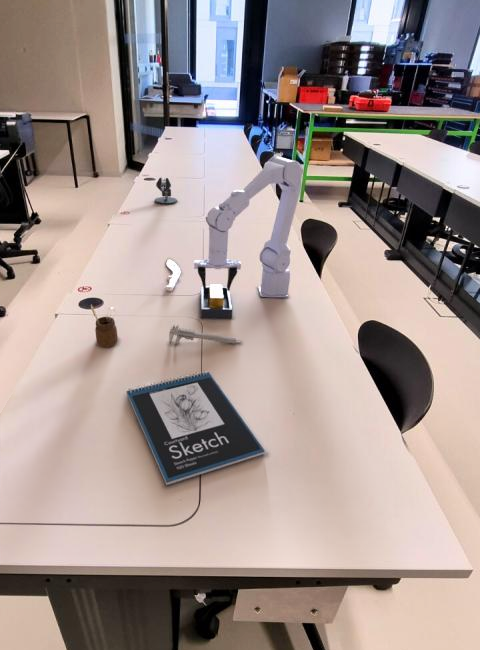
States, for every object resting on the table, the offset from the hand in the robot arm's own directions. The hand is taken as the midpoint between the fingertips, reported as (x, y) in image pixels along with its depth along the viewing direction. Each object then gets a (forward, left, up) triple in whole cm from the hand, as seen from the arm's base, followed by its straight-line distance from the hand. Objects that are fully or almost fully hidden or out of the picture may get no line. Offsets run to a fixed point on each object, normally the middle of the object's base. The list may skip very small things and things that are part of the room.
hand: (216, 289), depth 142 cm
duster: (0, 0, -5) cm, 5 cm away
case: (0, 0, -6) cm, 6 cm away
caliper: (+4, +23, -6) cm, 24 cm away
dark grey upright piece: (+23, -123, -6) cm, 125 cm away
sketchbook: (+8, +56, -6) cm, 57 cm away
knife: (+16, -25, -6) cm, 30 cm away
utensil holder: (+32, +23, -6) cm, 40 cm away
